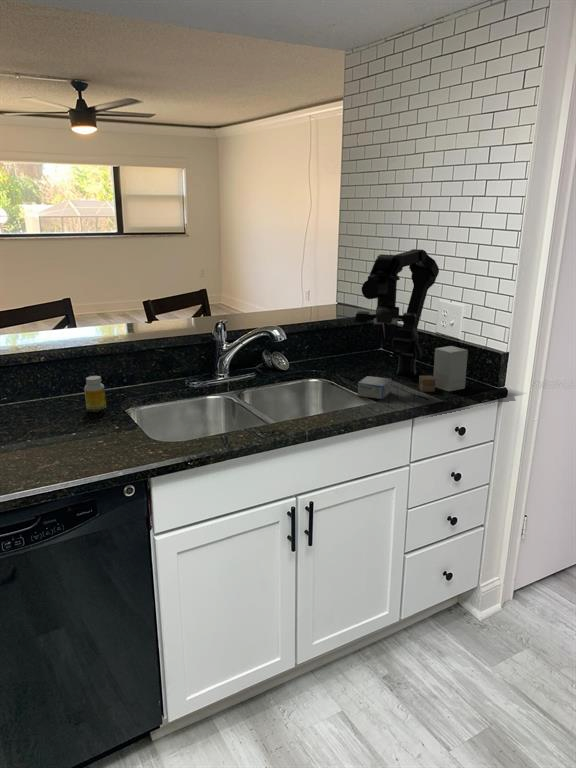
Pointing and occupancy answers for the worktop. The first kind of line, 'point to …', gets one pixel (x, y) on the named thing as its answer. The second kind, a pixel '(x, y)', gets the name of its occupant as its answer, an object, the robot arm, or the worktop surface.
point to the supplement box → (450, 368)
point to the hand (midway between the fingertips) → (384, 344)
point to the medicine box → (374, 387)
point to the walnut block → (427, 383)
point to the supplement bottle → (94, 393)
